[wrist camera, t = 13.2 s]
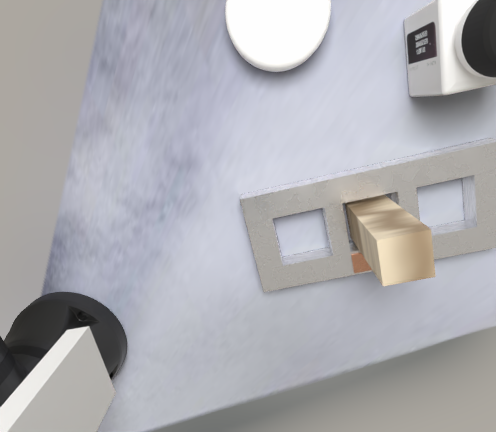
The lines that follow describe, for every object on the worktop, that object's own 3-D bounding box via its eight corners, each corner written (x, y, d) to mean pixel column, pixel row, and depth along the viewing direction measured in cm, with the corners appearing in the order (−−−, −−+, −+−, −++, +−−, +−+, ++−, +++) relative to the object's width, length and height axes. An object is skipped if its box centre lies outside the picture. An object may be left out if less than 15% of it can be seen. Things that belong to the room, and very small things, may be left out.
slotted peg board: (263, 282, 44) (263, 293, 42) (241, 194, 41) (239, 200, 38) (492, 237, 41) (507, 246, 39) (488, 138, 38) (505, 140, 35)
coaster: (239, -49, 34) (237, -66, 30) (338, -24, 34) (346, -39, 31) (219, 60, 37) (215, 55, 33) (310, 82, 37) (314, 79, 34)
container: (408, 97, 37) (481, 94, 24) (402, 18, 35) (479, -30, 22) (483, 81, 36) (598, 68, 24) (482, -1, 34) (609, -63, 21)
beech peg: (350, 237, 42) (383, 286, 30) (344, 202, 41) (376, 240, 29) (388, 229, 41) (435, 276, 30) (383, 194, 40) (431, 229, 29)
